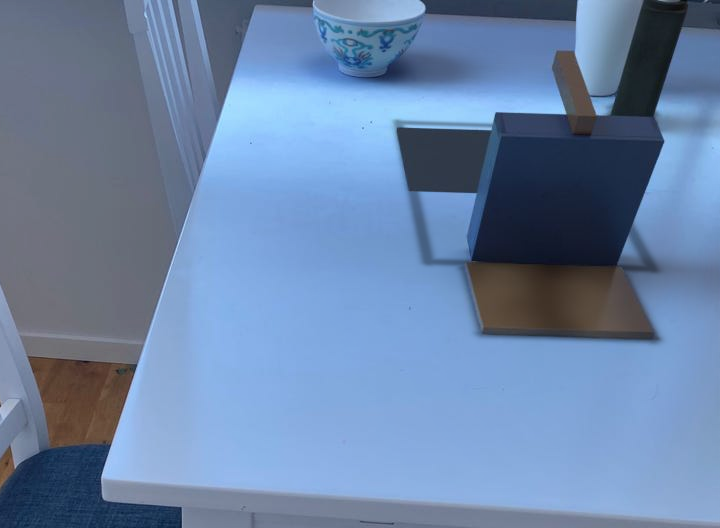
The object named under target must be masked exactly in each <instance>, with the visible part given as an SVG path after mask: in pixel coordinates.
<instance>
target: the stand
mask: <svg viewBox="0 0 720 528" xmlns="http://www.w3.org/2000/svg"><path fill="white" fill-rule="evenodd" d="M464 273H465V276H466V281H467V285H468V288H469V292H470V296H471V299H472V303H473V307H474V311H475V314H476V318H477V322H478V325H479V330H480V333H481V335H504V336H505V335H507V336H508V335H509V336H535V337H536V336H541V337H565V338H566V337H568V338H569V337H570V338H571V337H572V338H597V339H599V338H600V339H627V340H628V339H629V340H631V339H633V340H652V339H653V337H654V334H655V331H654V329H653V327H652V325H651V323H650V321H649V319H648V317H647V315H646V313H645V311H644V308H643V307H642V305H641V302H640V300H639V299H638V296H637V295H636V293H635V290H634V288H633V287H632V284H631V283H630V281H629V278H628V276H627V274H626V272H625V271H624V269H623V267H622V266H600V265H569V264H537V263H506V262H475V261H465V263H464Z"/></svg>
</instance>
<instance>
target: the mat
mask: <svg viewBox="0 0 720 528" xmlns="http://www.w3.org/2000/svg"><path fill="white" fill-rule="evenodd" d="M491 130H492V129H468V128H467V129H466V128H465V129H464V128H436V127H435V128H431V127H403V126H397V127H396V134H397V140H398V144H399V149H400V154H401V158H402V164H403V168H404V173H405V177H406V182H407V188H408V192H416V193H417V192H421V193H422V192H423V193H452V194H477V190H478V186H479V181H480V177H481V173H482V168H483V164H484V160H485V155H486V151H487V147H488V143H489V138H490V134H491Z"/></svg>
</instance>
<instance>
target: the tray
mask: <svg viewBox="0 0 720 528" xmlns="http://www.w3.org/2000/svg"><path fill="white" fill-rule="evenodd" d="M551 71H552V73H553V77H554V80H555V83H556V86H557V89H558V92H559V96H560V98H561V101H562V105H563V108H564V111H565V113H539V112H538V113H537V112H536V113H535V112H505V111H504V112H503V111H502V112H501V111H498V112H497V111H496V112H495V113H494V117H493V121H492V125H491V129H490V130H491V134H490V138H489V143H488V147H487V151H486V155H485V160H484V164H483V168H482V173H481V177H480V181H479V186H478V190H477V193H475V194H476V195H475V199H474V203H473V208H472V212H471V217H470V220H469V225H468V230H467V232H466V233H467V234H466V241H467V247H468V252H469V258H470V262H484V263H515V264H546V265H577V266H608V267H618V263H619V261H620V258H621V256H622V253H623V251H624V248H625V245H626V243H627V240H628V238H629V235H630V232H631V229H632V226H633V225H634V222H635V219H636V217H637V214H638V212H639V210H640V207H641V204H642V202H643V199H644V196H645V193H646V191H647V189H648V185H649V183H650V181H651V178H652V175H653V173H654V170H655V167H656V165H657V162H658V159H659V157H660V155H661V151H662V149H663V147H664V144H665V139H664V136H663V133H662V131H661V129H660V127H659V124H658V122H657V119H656V117H655V116H654V117H638V116H610V115H606V114H605V115H603V114H602V115H600V114H597V113H596V110H595V107H594V104H593V101H592V97H591V96H589V93H588V90H587V87H586V84H585V81H584V79H583V76H582V73H581V70H580V67H579V65H578V62H577V59H576V56H575V51H574V50H559V49H558V50H556V52H555V55H554V58H553V61H552V65H551Z"/></svg>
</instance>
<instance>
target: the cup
mask: <svg viewBox="0 0 720 528" xmlns="http://www.w3.org/2000/svg"><path fill="white" fill-rule="evenodd" d="M643 1H644V0H577V1H576V2H577V4H576V16H575V47H574V48H575V49H574V50H575V51H574V53H575V56H576V59H577V62H578V65H579V67H580V70H581V73H582V76H583V79H584V81H585V84H586V87H587V90H588V93H589V96H590V97H608V96H611V95H614V94H616V93H617V90H618V86H619V83H620V80H621V76H622V73H623V69H624V66H625V62H626V59H627V55H628V52H629V48H630V45H631V41H632V38H633V34H634V31H635V27H636V24H637V20H638V17H639V13H640V10H641V6H642V3H643Z"/></svg>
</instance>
